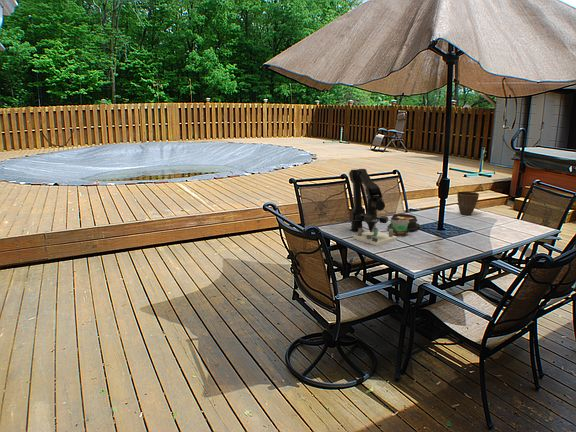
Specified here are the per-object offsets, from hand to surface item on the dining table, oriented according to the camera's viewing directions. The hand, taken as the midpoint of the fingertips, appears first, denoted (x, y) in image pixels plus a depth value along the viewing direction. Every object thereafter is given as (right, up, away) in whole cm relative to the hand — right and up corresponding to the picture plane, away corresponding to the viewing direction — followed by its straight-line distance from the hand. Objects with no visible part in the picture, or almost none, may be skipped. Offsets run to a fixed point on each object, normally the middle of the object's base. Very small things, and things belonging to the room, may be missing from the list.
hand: (370, 232), depth 259 cm
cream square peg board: (+3, -4, +2) cm, 5 cm away
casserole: (+26, +1, +24) cm, 36 cm away
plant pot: (+83, +11, +62) cm, 104 cm away
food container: (+21, -3, +10) cm, 23 cm away
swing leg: (0, -3, -2) cm, 3 cm away
